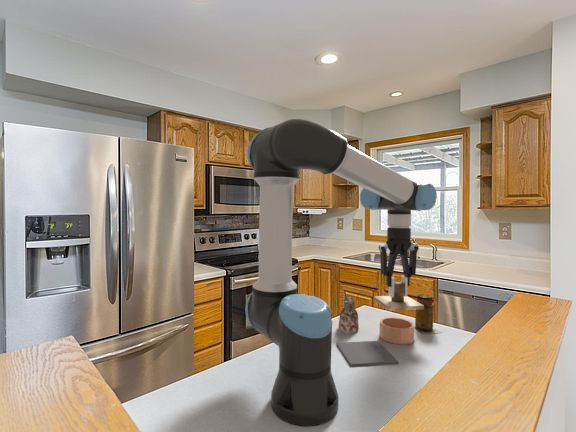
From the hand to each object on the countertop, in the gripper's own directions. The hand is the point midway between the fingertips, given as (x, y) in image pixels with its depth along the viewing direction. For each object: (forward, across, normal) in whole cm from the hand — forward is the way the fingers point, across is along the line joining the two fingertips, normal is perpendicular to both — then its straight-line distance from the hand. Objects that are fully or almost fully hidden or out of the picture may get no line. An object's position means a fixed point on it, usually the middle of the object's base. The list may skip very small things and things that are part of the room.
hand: (397, 295), depth 109 cm
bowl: (+14, 0, 0) cm, 14 cm away
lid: (+3, 0, 0) cm, 3 cm away
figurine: (+15, +14, -9) cm, 22 cm away
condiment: (+15, -14, -6) cm, 21 cm away
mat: (+14, +15, +10) cm, 23 cm away
